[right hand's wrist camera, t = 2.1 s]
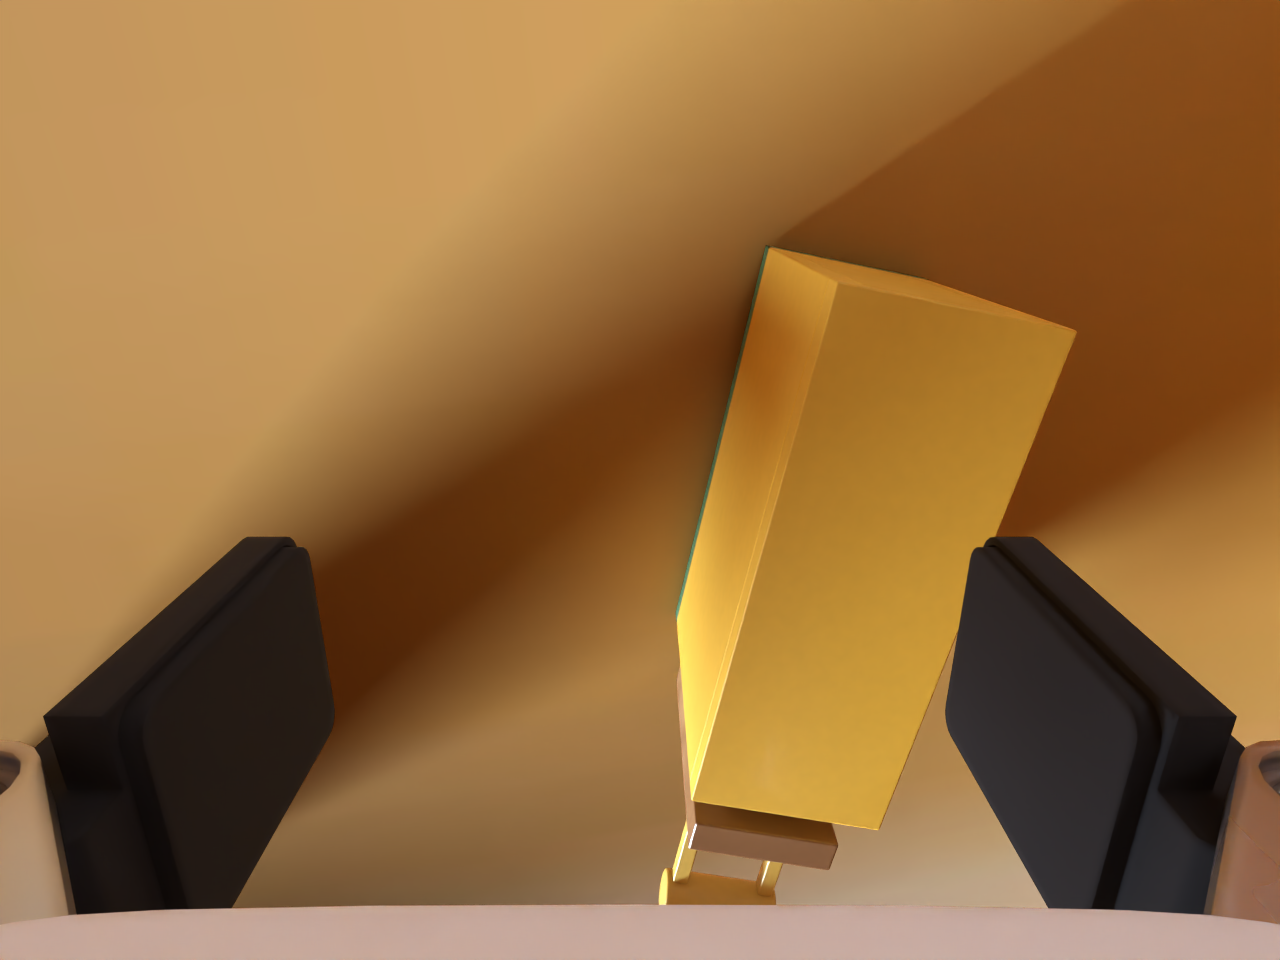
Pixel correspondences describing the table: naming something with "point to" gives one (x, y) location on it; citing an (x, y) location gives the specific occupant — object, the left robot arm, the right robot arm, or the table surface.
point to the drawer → (739, 847)
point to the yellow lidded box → (847, 527)
